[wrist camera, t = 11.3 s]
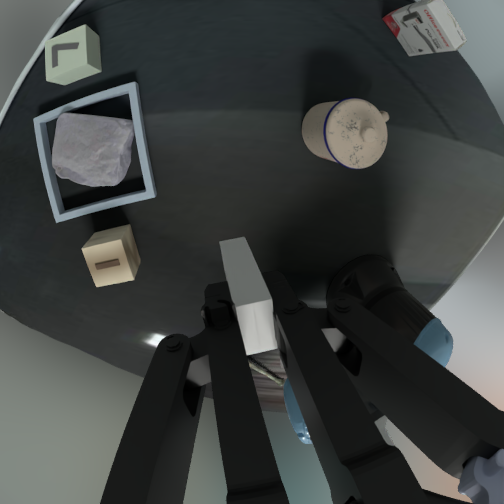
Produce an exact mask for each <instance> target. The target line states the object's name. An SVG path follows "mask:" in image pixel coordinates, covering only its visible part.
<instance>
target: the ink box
mask: <svg viewBox="0 0 504 504" xmlns="http://www.w3.org/2000/svg"><path fill="white" fill-rule="evenodd" d="M382 19H383V21H384V22H385V23H386V25H387V26H388V27H389V28H390V30H391V31H392V32H393V34H394V35H395V37H396V38H397V39H398V41H399V42H400V44H401V45H402V47H403V48H404V50H405V51H406V53H407V54H408V56H416V55H422V54H429V53H437V52H446V51H456V50H458V49H459V48H460V47H462V46H463V45H464V44H465V43H466V37H465V35H464V33H463V31H462V29H461V28H460V26H459V25H458V23H457V21H456V19H455V18H454V16H453V15H452V13H451V12H450V10H449V9H448V7H447V5H446V4H445V3H444V1H443V0H422V1H419V2H415V3H412V4H410V5H407V6H404V7H401V8H399V9H396V10H394V11H392V12H390V13H389V14H387V15H386V16H384V17H383V18H382Z"/></svg>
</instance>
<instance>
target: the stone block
mask: <svg viewBox="0 0 504 504" xmlns="http://www.w3.org/2000/svg"><path fill="white" fill-rule="evenodd" d="M56 124H57V125H56V133H55V138H54V145H53V151H52V166H53V168H54V169H55V170H56V171H55V173H56V174H57V175H58V176H59V177H60V178H68V179H70V180H71V181H73V182H77V183H79V184H83V185H88V186H92V187H96V186H114V185H117V184H119V183H120V182H121V181H122V180H123V178H124V177H125V175H126V173H127V170H128V167H129V165H130V162H131V145H132V141H133V137H134V133H135V130H134V124H133V120H128V119H121V118H113V117H105V116H96V115H86V114H77V113H62V114H60V116H59V118H58V120H57V123H56Z"/></svg>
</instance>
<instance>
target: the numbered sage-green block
mask: <svg viewBox="0 0 504 504" xmlns="http://www.w3.org/2000/svg"><path fill="white" fill-rule="evenodd" d="M45 63H46V81H49V82H54V83H58V84H62V85H67V84H69V83H72V82H74V81H77V80H79V79H82V78H85V77H87V76H90V75H93V74H96V73H99V72H102V69H101V57H100V41H99V36H98V35H97V34H96V33H95V32H94V31H93V30H92V29H90V28H89V27H88V26H87V25H86V24H85V25H82V26H80V27H77V28H75V29H72V30H70V31H68V32H65V33H63V34H61V35H59V36H57V37H54V38H52V39H50V40H48V41H46V42H45Z"/></svg>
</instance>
